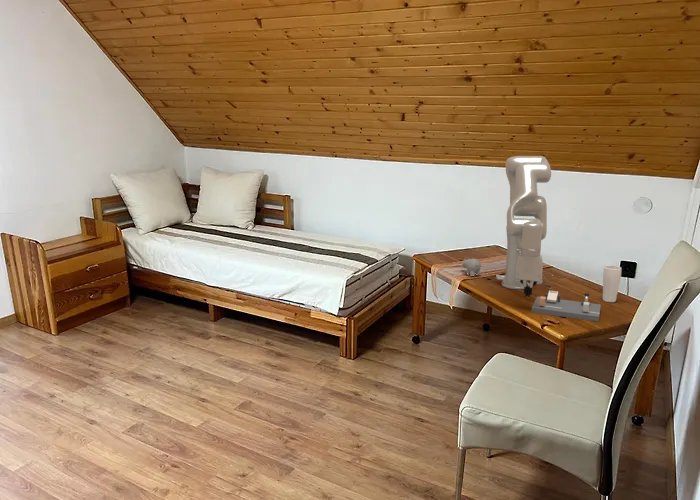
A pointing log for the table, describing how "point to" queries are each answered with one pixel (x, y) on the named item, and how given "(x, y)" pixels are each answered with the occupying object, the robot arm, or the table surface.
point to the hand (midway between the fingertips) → (527, 295)
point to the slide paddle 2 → (586, 307)
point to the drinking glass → (611, 282)
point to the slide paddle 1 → (542, 301)
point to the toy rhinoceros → (472, 266)
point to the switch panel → (567, 309)
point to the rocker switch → (552, 296)
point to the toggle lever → (586, 296)
